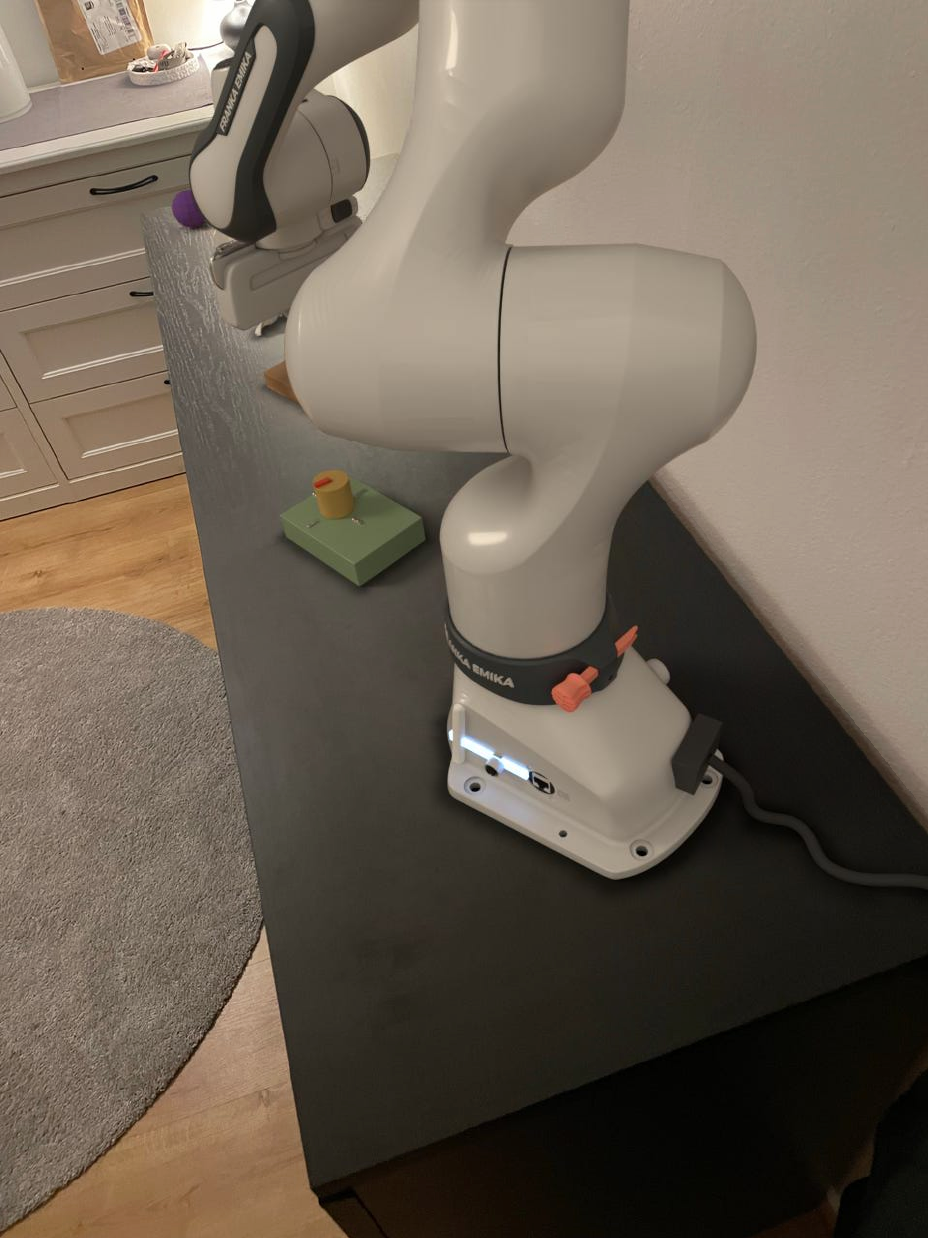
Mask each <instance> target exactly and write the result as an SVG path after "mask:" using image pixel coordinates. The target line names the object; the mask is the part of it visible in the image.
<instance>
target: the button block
mask: <svg viewBox="0 0 928 1238" xmlns="http://www.w3.org/2000/svg"><path fill="white" fill-rule="evenodd" d="M263 377H264V381H265V384H266V388H268V389H270V390H271V391H274V392H275V393H277V394H279V395H281V396H283V397H285V398H286V399H288V400H290V401H292V402H294V403H296V404H298V405H300V403H299V401H298V400H297V398H296V396H295V394H294V391H293V389H292V386H291V384H290V381H289V377H288V373H287V369H286V363H285V359H284V361H282V362H280V363H278V364H276V365H275V366H272V367H271V368H269V369H267V370H265V371H263Z"/></svg>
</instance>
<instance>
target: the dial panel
mask: <svg viewBox="0 0 928 1238" xmlns="http://www.w3.org/2000/svg"><path fill="white" fill-rule="evenodd" d="M346 474H347V475H348V478H349V482H350V486H351V491H352V495H353V500H354V504H355V506H354V509H353V511H352V512H351V513H350V514H349V515H347V516H345V517H342V518H339V519H329V518H326V517H324V516H322V515H321V513H320V510H319V506H318V502H317V498H316V495H315V491H313V493H311V495H309V496H307V497H306V498H304V499H303V500H301V501H300V502H298V503H297V504H295V505H293V506H292V507H290V508H288V509H287V510H286V511H284V512H282V513H280V514H279V517H280V522H281V524H282V528H283V530H284V535H285V537H286V538H287V539H288V540H290V541H292V542H293V543H294V544H295V545H297V546H299V547H300V548H302V549H303V550H305V551H307V552H308V553H309V554H310V555H312V556H314V558H316V559H318V560H320V562H323V563H324V564H326V565H327V566H329V567H330V568H331V569H333V570H334V571H336V572H337V573H339V574H340V575H342V576H343V577H344V578H346V579H347V580H349V581H351V582H352V583H353V584H355V585H356V586H357V587H361V586H363V585H364V584H366V583H367V582H368V581H370V580H371V579H372V578H374V577H376V576H377V575H379V574H380V573H382V572H383V571H384V570H386V569H387V568H388V567H390V566H391V565H392V564H394V563H395V562H397V561H398V560H400V559H402V557H404V556H405V555H407V554H408V553H409V552H411V551H412V550H413V549H415V548H416V547H418V546H420V544H422V543H423V542H425V541H426V540H427V539H426V534H425V527H424V519H423V517H422V516H420V515H419V514H417V513H415V512H414V511H412V510H410V509H408V508H407V507H405V506H403V505H402V504H400V503H398V502H396V501H394V500H393V499H391V498H389V497H388V496H386V495H384V494H382V493H380V492H379V491H378V490H376V489H374V488H372V487H370V486H368V485H367V484H365V483H363V482H362V481H360V480H358V479H356V478H355V477H353V476H351V475H350V474H348V473H346Z"/></svg>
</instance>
